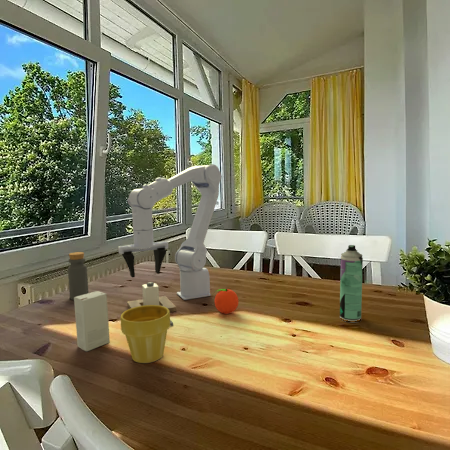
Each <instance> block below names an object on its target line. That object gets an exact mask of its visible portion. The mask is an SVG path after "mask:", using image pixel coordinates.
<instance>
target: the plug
mask: <svg viewBox="0 0 450 450" xmlns="http://www.w3.org/2000/svg"><path fill="white" fill-rule="evenodd" d="M141 288H142V299H143V306H144V305H159V297H160V291H159V290H160V287H159V285H158V284H157V283H155V282H153V281H149V282H146V283H145V284H142V285H141Z"/></svg>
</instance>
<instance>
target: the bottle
mask: <svg viewBox="0 0 450 450" xmlns="http://www.w3.org/2000/svg"><path fill="white" fill-rule="evenodd" d="M68 257H69V258H68V263H70V265H69V266H68V267H67V274H68V275H67V276H68V289H69V292H68V293H69V299H70V300H71V301H74V297H77V296H81V295H84V294H88V293H89V279H88V278H89V277H88V276H89V275H88V266H87V264H85V262H86V257H85V252H83V251H77V252H76V251H75V252H69V254H68Z"/></svg>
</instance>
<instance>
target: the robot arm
mask: <svg viewBox="0 0 450 450" xmlns="http://www.w3.org/2000/svg"><path fill="white" fill-rule="evenodd" d="M221 181H222V173H221V171H220V168H219V167H218V166H217V165H216V164H213V163H212V164H206V165H205V164H204V165H192V166H191V167H188V168H186V169H184V170H183V171H180V172H179V173H177V174H175V175H173V176H171V177H170V178H166V177H156V178H155V179H154V181H153V182H150V183H149V184H148V183H147V184H146V183H144V184H143V185H142V187H141V188H134V189H133V190H131V191H130V193H129V195H128V198H127V203H128V205H129V206H130V208H131V214H132V217H131V218H132V232H133V233H132V234H133V235H132V236H133V244H132V243H131V244H125V245H121V246H119V245H118V254H119V255H122V258H123V259H124V261H125V263H126V265H127V268H128V271H129V275H130V277H131V278H135V277H136V275H135V255H134V253H137V252H145V251H153V255H154V269H155V270H154V271H155V273H156V274H158V275H159V274H161V267H162V264H163V261H164V258H165V257H166V255H167V249H169V241H156V242H155V241H154V240H155V239H154V223H153V222H154V220H153V207H155V205H156V203H157V202H159V201H161V200H163V199H164V198H165V199H166V198H167V197H169V196H171V195H172V194H173V190H174V189H176V188H178V187H181V186H183V185H185V184H187V183H190V182H191V183H192V184H193V186H194V187H195V188H196V190H198V191H199V193H200V195H201V196H200V200H199V202H198V206H197V209H196V212H195V215H194V218H193V221H192V224H191V228H190V230H189V233H188V237H187V238H186V239H185V240H184V241H182V242H181V245H180V247H179V248H178V250H177V251H176V252H175V255H174V261H175V263H176V264H177V265H178V269H179V281H180V283H179V285H180V286H179V287H180V291H176V295H178V296H179V298H181V299H182V300H184V301H187V300H192V299H199V298H205V297H210V296H212V294H211V286H210V285H211V284H210V283H211V282H210V281H211V280H210V279H211V277H210V272H209V270H208V268H206V267H205V265H206V262H207V251H208V249H207V247H206V246H205V244H204V243H205V241H206V236H207V233H208V231H209V228H210V225H211V224H210V223H211V220H212V217H213V214H214V211H215V208H216V205H217V202H218V199H219V194H220V184H221Z"/></svg>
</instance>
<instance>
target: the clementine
mask: <svg viewBox="0 0 450 450" xmlns="http://www.w3.org/2000/svg"><path fill="white" fill-rule="evenodd" d="M215 292H217V293H216V295H215V296H214V306H215V308H216V309H217V311H218V312H219V313H221V314H225V315H227V314H232V313H233V312H235V311H236V310H237V308H238V306H239V301H240V300H239V297H238V294H237V293H236V292H235V291H234V290H232V289H230V288H220V289H216V291H214V293H215Z"/></svg>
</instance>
